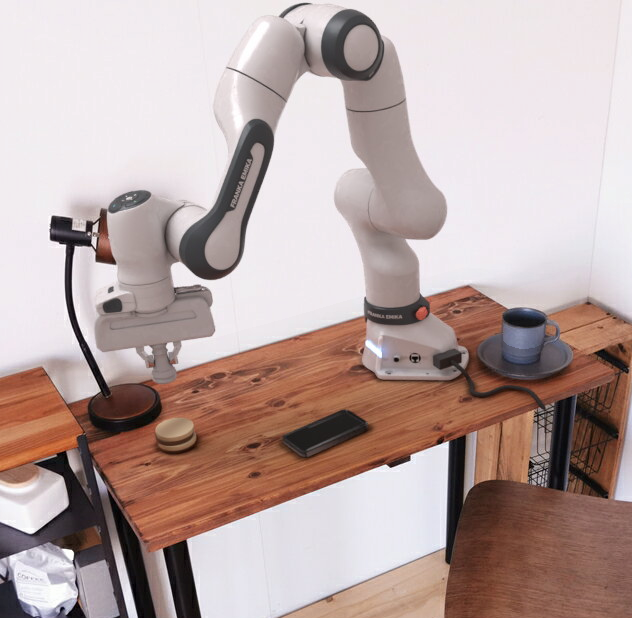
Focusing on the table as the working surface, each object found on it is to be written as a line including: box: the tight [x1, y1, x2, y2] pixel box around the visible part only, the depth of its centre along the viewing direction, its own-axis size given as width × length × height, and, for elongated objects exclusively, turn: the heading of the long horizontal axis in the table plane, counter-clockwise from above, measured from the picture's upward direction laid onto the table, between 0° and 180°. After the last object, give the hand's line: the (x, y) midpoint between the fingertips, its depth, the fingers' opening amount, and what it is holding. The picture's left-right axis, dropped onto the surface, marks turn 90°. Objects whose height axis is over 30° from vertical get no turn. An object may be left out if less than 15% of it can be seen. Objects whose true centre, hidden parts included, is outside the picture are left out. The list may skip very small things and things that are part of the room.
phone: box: [282, 408, 369, 458], centre depth 168 cm, size 8×1×15 cm
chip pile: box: [154, 417, 197, 454], centre depth 168 cm, size 8×8×4 cm
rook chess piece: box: [149, 343, 178, 385], centre depth 159 cm, size 4×4×8 cm
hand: (162, 364), depth 160 cm, fingers closed on rook chess piece, 3 cm apart
